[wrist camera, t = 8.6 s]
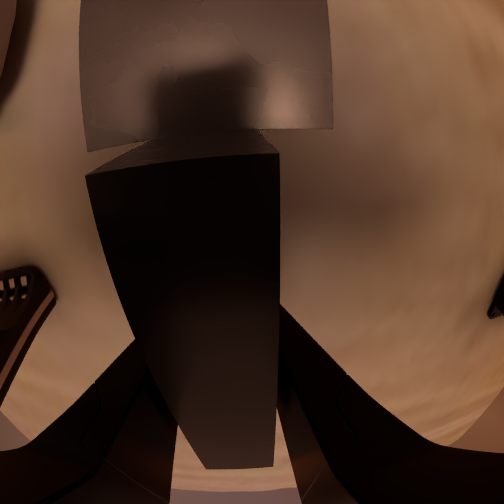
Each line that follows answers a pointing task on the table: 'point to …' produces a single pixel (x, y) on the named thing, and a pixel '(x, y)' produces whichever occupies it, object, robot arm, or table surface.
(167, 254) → the turner
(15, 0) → the robot toy
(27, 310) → the battery charger
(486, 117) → the table surface
